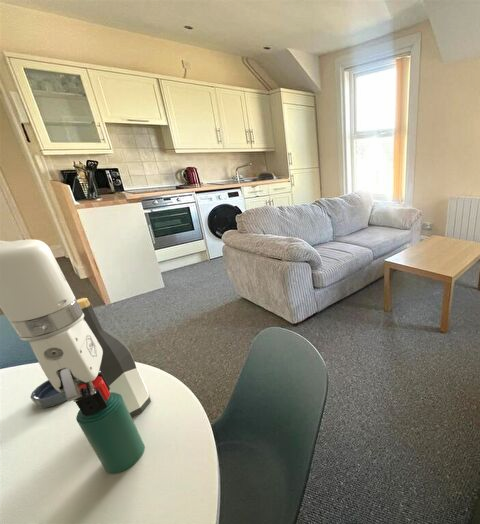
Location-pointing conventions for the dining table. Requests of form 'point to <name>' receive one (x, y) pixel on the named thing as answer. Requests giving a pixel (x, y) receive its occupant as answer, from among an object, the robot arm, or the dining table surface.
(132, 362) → the wine bottle
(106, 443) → the water bottle
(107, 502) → the dining table surface
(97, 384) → the cap
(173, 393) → the dining table surface
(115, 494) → the dining table surface
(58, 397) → the dish
